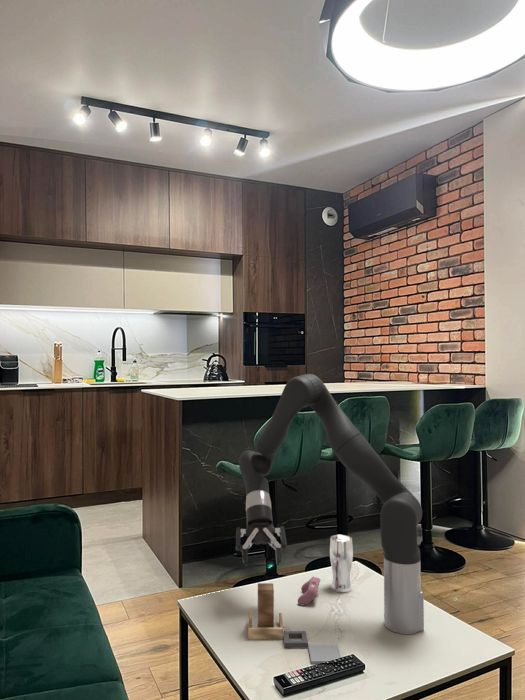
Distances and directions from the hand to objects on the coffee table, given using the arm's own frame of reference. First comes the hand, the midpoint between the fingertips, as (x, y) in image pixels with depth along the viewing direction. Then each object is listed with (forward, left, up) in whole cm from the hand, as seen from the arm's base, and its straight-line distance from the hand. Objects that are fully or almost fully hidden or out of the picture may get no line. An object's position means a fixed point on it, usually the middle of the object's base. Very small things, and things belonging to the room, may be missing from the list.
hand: (262, 564), depth 140 cm
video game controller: (-14, -9, -14) cm, 22 cm away
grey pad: (-14, +20, -13) cm, 28 cm away
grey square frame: (-8, +14, -13) cm, 21 cm away
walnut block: (-1, +9, -13) cm, 16 cm away
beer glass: (-24, -16, -14) cm, 32 cm away
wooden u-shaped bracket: (-1, +9, -13) cm, 16 cm away
